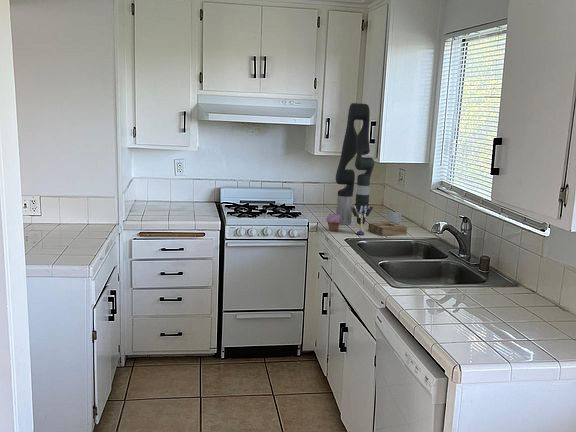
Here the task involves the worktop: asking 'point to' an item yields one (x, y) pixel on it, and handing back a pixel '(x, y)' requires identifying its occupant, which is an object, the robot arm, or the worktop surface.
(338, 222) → the cupcake
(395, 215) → the medicine box
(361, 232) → the toy lamp
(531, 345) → the worktop surface
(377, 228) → the socket block
